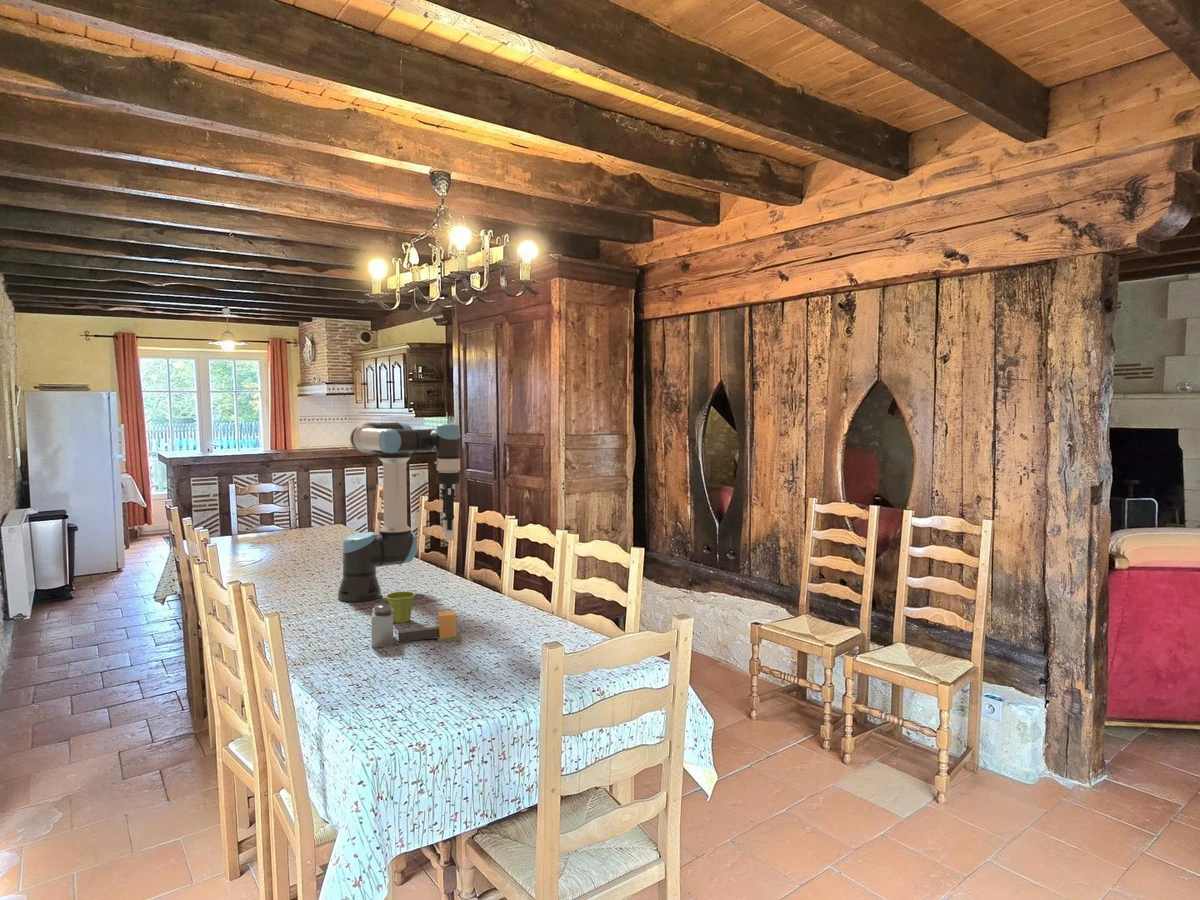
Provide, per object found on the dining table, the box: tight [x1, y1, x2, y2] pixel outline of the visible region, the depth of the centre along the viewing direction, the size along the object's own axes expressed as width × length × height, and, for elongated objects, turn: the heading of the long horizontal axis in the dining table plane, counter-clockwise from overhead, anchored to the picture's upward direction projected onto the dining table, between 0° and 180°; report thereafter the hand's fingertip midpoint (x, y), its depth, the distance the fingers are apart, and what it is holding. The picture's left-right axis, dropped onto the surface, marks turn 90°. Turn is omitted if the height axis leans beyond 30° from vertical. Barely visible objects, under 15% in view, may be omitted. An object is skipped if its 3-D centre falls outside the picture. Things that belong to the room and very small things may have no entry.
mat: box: [436, 631, 462, 643], centre depth 218 cm, size 7×7×1 cm
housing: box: [371, 603, 394, 648], centre depth 212 cm, size 9×6×11 cm
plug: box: [397, 610, 457, 644], centre depth 216 cm, size 4×17×7 cm, turn 105°
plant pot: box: [385, 591, 416, 624], centre depth 234 cm, size 9×9×9 cm
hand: (448, 536), depth 231 cm, fingers open, 13 cm apart
